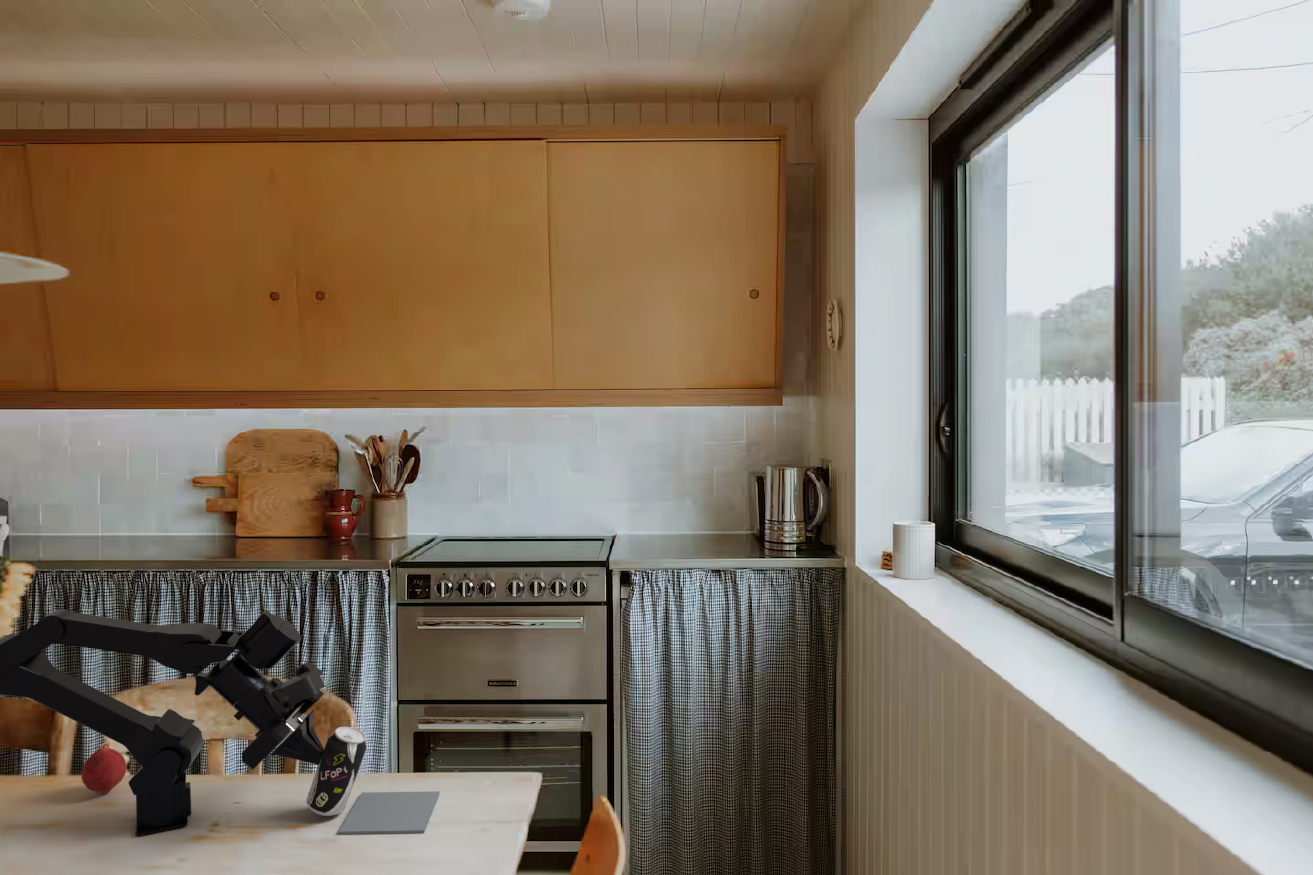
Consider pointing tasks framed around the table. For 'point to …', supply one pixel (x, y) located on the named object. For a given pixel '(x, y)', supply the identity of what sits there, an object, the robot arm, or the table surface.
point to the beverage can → (337, 771)
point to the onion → (103, 769)
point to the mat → (390, 813)
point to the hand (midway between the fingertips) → (326, 762)
